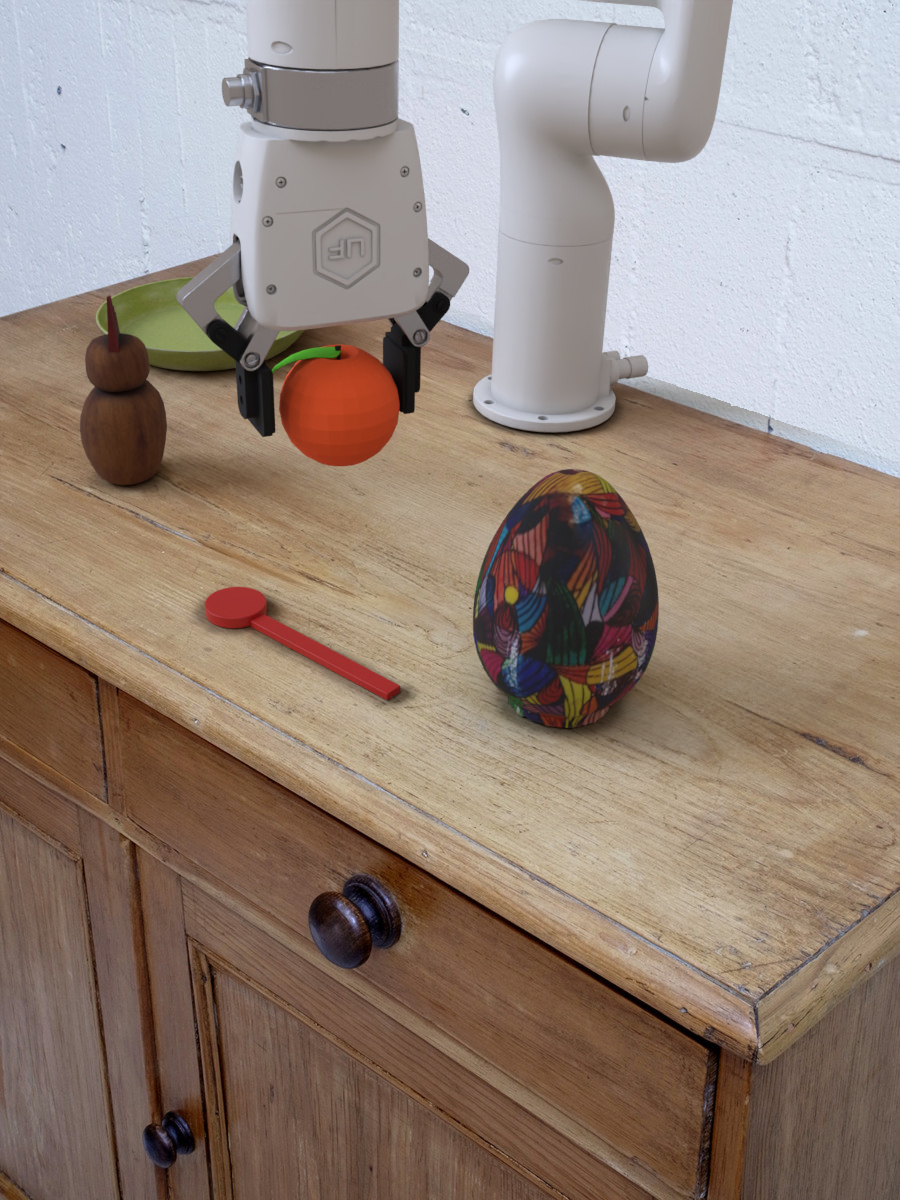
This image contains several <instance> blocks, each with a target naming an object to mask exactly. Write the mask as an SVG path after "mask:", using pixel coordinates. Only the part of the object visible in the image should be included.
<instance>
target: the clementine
mask: <svg viewBox="0 0 900 1200" xmlns="http://www.w3.org/2000/svg"><path fill="white" fill-rule="evenodd" d="M293 362H295V364H294V365H293V366H292V368H291V369H290V370H289V371H288V373H287V374H286V376H285V378H284V381H283V384H282V386H281V389H280V394H279V405H278V411H279V415H280V421H281V425H282V428H283V430H284V432H285V433H286V435H287V437H288V439H289V441H290V442H291V443H292V444H293V446H294V447H296V449H298V451H300V452H301V453H302V454H303V456H305V457H307V458H308V459H311V460H313V461H316V462H317V463H318V464H319V463H320V464H321V465H325V466H329V467H351V466H356V465H360V464H362V463H364V462H366V461H368V460H370V459H371V458H373V457H374V456H376V455H377V454H379V453H380V452H381V451H382V450H383V449H384V447H385V446H386V445H387V444H389V441H390V440H391V439H392V437H393V435H394V434H395V433H394V432H395V431H396V428H397V426H398V424H399V423H398V422H399V416H400V411H399V407H400V402H399V396H398V389H397V387H396V384H395V382H394V380H393V378H392V376H391V374H390V373H389V371H388V370H387V369H386V367H385V366H384V365H383V362H381V360H380V359H379V358H377V357H375V356H374V355H373V354H371V353H369V352H367V351H366V350H365V349H362V348H360V347H357V346H355V345H349V344H328V345H323V346H320V347H319V346H318V347H311V348H307V349H303V350H299V351H297V352H295V353H292V354H290V355H289V356H288V357H285V358H284V359H282V360H281V361H280V362H278V363H277V364H275V365H274V366H273V368H271V370H272V372H273V374H274V373H275V372H276V371H277V370H279V369H281V368H284V367H285V366H287V365H289V364H292V363H293Z"/></svg>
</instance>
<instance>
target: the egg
mask: <svg viewBox="0 0 900 1200" xmlns="http://www.w3.org/2000/svg"><path fill="white" fill-rule="evenodd" d="M653 560H654V559H653V556H652V554H651V550H650V546H649V545H648V542H647V539H646V537H645V535H644V532H643V530H642V528H641V526H640V524H639V522H638V520H637V518H636V517H635V514H634V513H633V512H632V510H631V509H630V507H629V505H628V504H627V503H626V501H625V500H624V499H623V497H622V496H621V495H620V494H619V492H618V491H617V490H616V488H615V487H613V486H612V484H611V483H610V482H609V481H608V480H606V479H605V478H603V477H602V476H601V475H598V474H596V473H595V472H593V471H592V472H591V471H589V470H584V469H580V468H579V469H578V468H567V469H566V468H565V469H560V470H556V471H554V472H551V473H549V474H547V475H546V476H544V477H542V478H541V479H540V480H538V481H537V482H536V483H535V484H534V485H533V486H531V487H530V488H529V489H528V490H527V491H526V492H525V493H524V494H523V495H522V496H521V497H520V498H519V499H518V501H516V503H515V504H514V505H513V506H512V507H511V509H510V510H509V512H507V514H506V516H505V517H504V518H503V520H502V522H501V523H500V525H499V527H498V528H497V530H496V532H495V534H494V535H493V538H492V539H491V541H490V543H489V545H488V546H487V550H486V552H485V554H484V557H483V560H482V562H481V566H480V569H479V573H478V577H477V580H476V586H475V590H474V597H473V598H474V599H473V607H472V608H473V609H472V634H473V635H472V636H473V641H474V646H475V649H476V654H477V656H478V659H479V661H480V664H481V666H482V668H483V670H484V672H485V674H486V675H487V677H488V678H489V680H490V681H491V682H492V683H493V685H494V686H495V687H496V688H497V689H498V690H499V691H500V692H501V693H502V694H503V695H504V696H505V697H506V699H507V701H508V704H509V705H510V706H511V708H512V709H513V710H514V711H515V713H516V714H517V715H518V716H519V717H521V718H522V717H525V718H526V719H528V720H529V721H530V722H536V723H538V724H542V725H543V726H547V727H552V728H556V727H557V728H561V729H563V728H565V729H570V728H571V729H574V728H581V727H582V726H587V725H588V724H596V722H597V721H598V720H600V719H602V718H604V716H605V715H606V713H607V714H608V712H609V710H610V709H611V707H612V706H613V704H616V703H617V702H619V701H620V700H621V699H622V698H624V697H625V696H627V694H628V693H629V692H630V691H632V689H634V687H635V686H636V685H637V683H638V682H639V681H640V680H641V678H642V676H643V675H644V674H645V672H646V670H647V668H648V666H649V664H650V662H651V659H652V656H653V653H654V650H655V647H656V641H657V636H658V630H659V629H658V628H659V617H660V616H659V613H660V611H659V610H660V601H659V587H658V580H657V579H658V578H657V574H656V573H657V572H656V569H655V563H654V561H653Z"/></svg>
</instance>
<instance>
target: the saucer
mask: <svg viewBox="0 0 900 1200" xmlns="http://www.w3.org/2000/svg"><path fill="white" fill-rule="evenodd" d="M194 277H195V276H187V277H177V278H172V279H171V278H170V279H165V280H164V279H163V280H157V281H153V282H149V283H144V284H141V285H137V286H133V287H131V288H129V289H126V290H123V291H120V292H119V293H117V294H115V295H113V296H111V299H112V304H113V306H114V310H115V312H116V316H117V321H118V326H119V331H120V333H123V334H130V335H133V336H136V337H138V338H139V339H140V340H141V341H142V342H143V343H144V344H145V347H146V350H147V353H148V359H149V366H152V367H157V368H162V369H167V370H173V371H184V372H214V371H224V370H225V371H226V370H233V369H236V364H235V360H234V359H233V358H232V357H231V356H229V355H228V354H227V353H226V352H224V351H223V350H222V349H221V348H219V347H218V346H217V345H216V344H214V343H213V342H212V341H211V340H210V339H209V338H208V336H207V335H206V334H205V333H204V332H203V331H202V329H201V328H200V327H199V326H198V325H197V324H196V322H195V321H194V320H193V319H192V318H191V317H190V315H189V314H188V313H187V312H186V311H185V310H184V309H183V307H182V306H181V305H180V304H179V303H178V301H177V297H176V296H177V292H178V291H179V290H180V289H181V288H182V287H183V286H185V285H186V284H187V283H188V282H189V281H190V280H192V279H193V278H194ZM214 308H215V310H216V312H217V313H218V314H219V315H220V317H221V318H222V319H223V320H225V321H226V322H227V323H228V324H230V325H231V326H232V327H233V328H234V326H235V325H236V323H237V321H238V319H239V317H240V315H241V313H242V312H243V310H244V308H245V306H244V305H242V304H240V303H239V302H238V301H237V300H236V298H235V296H234V293H233V288H232V286H231V287H230V288H229V289H228V290H227V291H226V292H224V293H223V294H222V295H221V296H220V297H219V298H217V300H216V301H215V304H214ZM95 322H96V325H97V326H98V327H99V329H100V330H101V333H103V335H105V334H108V320H107V300H104V302H103V303H102V304H101V305H100V306H99V307H98V309H97V311H96V313H95ZM304 332H305V330H296V331H280V332H279V334H278V335H277V337H276V339H275V341H274V343H273V345H272V346H271V348H270V350H269V352H268V354H267V356H266V357H265V361H267V360H270V359H272V358H274V357H277V356H278V355H280V354H281V353H283V352H284V351H286V350H287V349H288V348H289V347H291V346H292V345H293V344H294V343H295V342H296V341H298V339H299V338H300V337H301V335H302V334H303V333H304Z"/></svg>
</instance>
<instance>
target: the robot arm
mask: <svg viewBox="0 0 900 1200" xmlns="http://www.w3.org/2000/svg"><path fill="white" fill-rule="evenodd" d="M580 1H582V2H591V3H603V4H615V5H625V6H637V7H638V6H640V7H649V8H655V9H658V10H659V11H660V12H661V14H662V16H663V19H664V28H663V27H652V26H651V27H650V26H641V25H640V26H639V25H627V24H618V23H617V22H606V21H592V20H583V19H569V18H568V19H567V18H548V19H539V20H534V21H530V22H527V23H524V24H523V25H520V26H519V27H517V28H515V29H514V30H513V31H511V32H510V33H509V34H507V36H506V38H505V39H504V40H503V42H502V43H501V45H500V47H499V49H498V51H497V54H496V57H495V60H494V65H493V72H492V73H493V76H492V93H493V104H494V112H495V113H494V114H495V120H496V121H495V122H496V128H497V138H498V150H499V151H498V152H499V180H500V181H499V211H498V214H499V215H498V229H497V233H498V235H497V252H496V253H497V254H496V274H495V295H494V299H495V300H494V318H493V335H492V336H493V337H492V356H491V357H492V358H491V359H492V360H491V361H492V362H491V374H488V375H486V376H485V377H483V378H482V379H480V380H479V381H477V383H476V384H475V386H474V387H473V394H472V395H473V396H472V403H473V405H474V407H475V409H476V410H477V412H479V413H480V414H481V415H482V416H483V417H484V418H487V419H488V420H490V421H492V422H494V423H497V424H499V425H500V426H505V427H508V428H511V429H516V430H522V431H527V432H533V433H554V434H555V433H568V432H569V433H570V432H579V431H582V430H586V429H591V428H594V427H597V426H599V425H601V424H603V423H604V422H606V421H607V420H609V419H610V418H611V417H612V416H613V414H614V412H615V409H616V394H615V392H614V391H613V390H612V388H611V386H612V385H616V384H617V383H618V382H619V380H623V379H627V380H630V379H635V378H641V377H646V376H647V374H648V372H649V363H648V359H647V357H646V356H644V355H643V354H639V355H638V354H637V355H633V356H626V357H625V356H624V357H623V358H621V354H620V352H619V351H618V350H609V351H603V349H604V338H605V328H606V327H605V326H606V315H607V305H608V295H609V294H608V293H609V285H610V284H609V283H610V273H611V272H610V271H611V263H612V262H611V261H612V250H613V241H614V233H615V221H616V210H615V204H614V198H613V194H612V192H611V190H610V187H609V186H610V185H608V182H607V180H606V178H605V175H604V173H602V171H601V168H600V167H599V166H598V163H597V162H596V160H595V158H594V157H600V156H603V157H610V158H611V157H612V158H618V159H619V158H620V159H629V160H637V161H646V162H654V163H664V164H665V163H667V164H668V163H669V164H679V163H684V162H687V161H690V160H692V159H694V158H696V157H697V156H698V155H699V154H700V153H701V152H702V151H703V150H704V149H705V147H706V145H707V143H708V141H709V139H710V137H711V135H712V132H713V131H712V130H713V128H714V124H715V120H716V115H717V111H718V105H719V100H720V99H719V98H720V93H721V87H722V80H723V73H724V65H725V59H726V51H727V45H728V38H729V32H730V31H729V30H730V26H731V25H730V24H731V17H732V10H733V3H734V0H579V2H580ZM245 17H246V38H247V40H246V41H247V57H248V58H244V68H243V70H242V73H237V74H236V76H233V77H232V76H231V77H223V78H222V80H221V95H222V100H223V103H224V105H225V106H226V107H238V106H239V108H240V109H245V110H246V113H247V114H248V115H250V121H245V122H242V123H241V124H240V125H239V130H238V135H237V141H236V148H235V156H234V165H233V174H232V175H233V176H232V185H231V186H232V187H231V199H230V225H229V226H230V228H229V229H230V230H229V231H230V232H229V233H230V234H229V246H228V247H227V248H226V249H225V250H223V252H222V253H221V254H220V255H218V256H217V257H216V258H214V259H213V260H212V261H211V262H210V263H209V264H208V265H206V266H205V267H204V268H203V269H202V270H200V272H198V273H197V274H196V275H195V276H193V277H194V278H193V279H192V280H190V281H189V282H188V283H187V284H186V285H185V286H183V287H182V288H181V289H180V290H179V291H178V292H177V296H176V297H177V301H178V303H179V304H180V305H181V306H182V307H183V309H184V310H185V311H186V312H187V313H188V314H189V315H190V317H191V318H192V319H193V320H194V321H195V322H196V324H197V325H198V326H199V327H200V328H201V329H202V331H203V332H204V333H205V334H206V335H207V336H208V338H209V339H210V340H211V341H212V342H213V343H214V344H216V345H217V346H218V347H219V348H221V349H222V350H223V351H224V352H226V353H227V354H228V355H229V356H231V357H232V358H233V359H234V360H235V364H236V368H235V379H236V380H235V381H236V395H237V396H236V398H237V407H238V411H239V414H240V416H241V417H242V418H243V419H244V420H247V421H249V423H250V424H251V425H252V426H253V428H254V429H255V430H256V431H257V432H258V434H259V435H260V436H261V437H262V438H268V437H271V436H272V437H273V434H275V433H276V414H275V413H276V411H275V410H276V409H275V387H274V373H273V372H272V368H271V367H270V366H269V365H268V364H267V363H266V360H265V357H266V356H267V354H268V352H269V350H270V348H271V346H272V345H273V343H274V341H275V339H276V337H277V335H278V334H279V332H280V331H296V330H304V331H306V330H313V329H320V328H329V327H335V326H336V327H337V326H343V325H344V326H345V325H351V324H359V323H367V322H374V321H381V320H387V321H388V323H389V324H390V325H391V327H390V331H385V333H384V336H383V338H382V364H383V365H384V366H385V367H386V369H387V370H388V371H389V373H390V374H391V376H392V378H393V380H394V382H395V384H396V387H397V389H398V396H399V402H400V407H399V413H402V414H404V415H409V414H414V413H415V410H416V409H415V407H416V393H419V392H420V390H421V371H422V370H421V369H422V367H421V365H422V364H421V363H422V355H421V354H422V347H424V346H426V345H427V344H428V343H429V340H430V339H431V333H430V332H432V330H433V329H434V328H435V327H436V326H437V325H438V323H440V321H441V320H442V318H444V316H445V315H446V314H447V313H448V311H449V310H450V308H451V301H452V299H453V298H455V297H456V296H457V294H458V292H459V291H460V289H461V288H462V286H463V284H464V282H465V281H466V280H467V278H468V276H469V275H470V267H469V264H468V263H466V262H465V261H463V260H462V259H461V258H459V257H457V256H456V255H454V254H453V253H451V252H449V251H448V250H447V249H445V248H444V247H443V246H440V244H438V243H437V242H435V241H433V240H431V239H430V238H429V237H428V236H429V232H428V220H427V219H428V217H427V206H426V198H425V197H426V196H425V195H426V194H425V187H424V179H423V172H422V171H423V169H422V165H421V159H420V158H421V157H420V151H419V146H418V145H419V144H418V141H417V136H416V130H415V126H414V124H413V123H412V122H410V121H406V120H405V119H401V118H399V96H400V95H399V89H400V88H399V87H400V86H399V85H400V83H399V80H400V77H399V75H400V70H399V69H400V68H399V67H400V61H399V58H400V0H245ZM430 267H431V268H432V271H433V275H432V278H431V279H430ZM231 286H232V288H233V293H234V296H235V298H236V300H237V301H238V302H239V303H240V304H242V305H244V306H245V308H244V310H243V312H242V313H241V315H240V317H239V319H238V321H237V323H236V325H235V326H234V328H233V327H232V326H231V325H230V324H228V323H227V322H226V321H225V320H223V319H222V318H221V317H220V315H219V314H218V313H217V312H216V310H215V308H214V304H215V301H216V300H217V298H219V297H220V296H221V295H222V294H223V293H224V292H226V291H227V290H228V289H229V288H230V287H231Z"/></svg>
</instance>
